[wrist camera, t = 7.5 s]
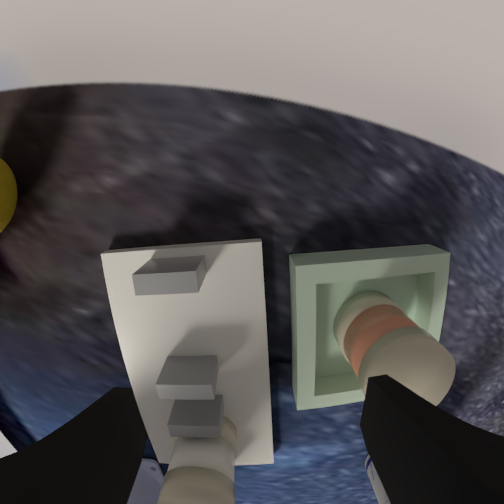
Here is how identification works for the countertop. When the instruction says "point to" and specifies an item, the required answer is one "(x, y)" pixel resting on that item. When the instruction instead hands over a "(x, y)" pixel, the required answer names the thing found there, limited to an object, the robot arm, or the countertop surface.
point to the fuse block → (195, 341)
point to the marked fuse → (392, 346)
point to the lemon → (7, 194)
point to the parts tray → (342, 288)
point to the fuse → (202, 469)
